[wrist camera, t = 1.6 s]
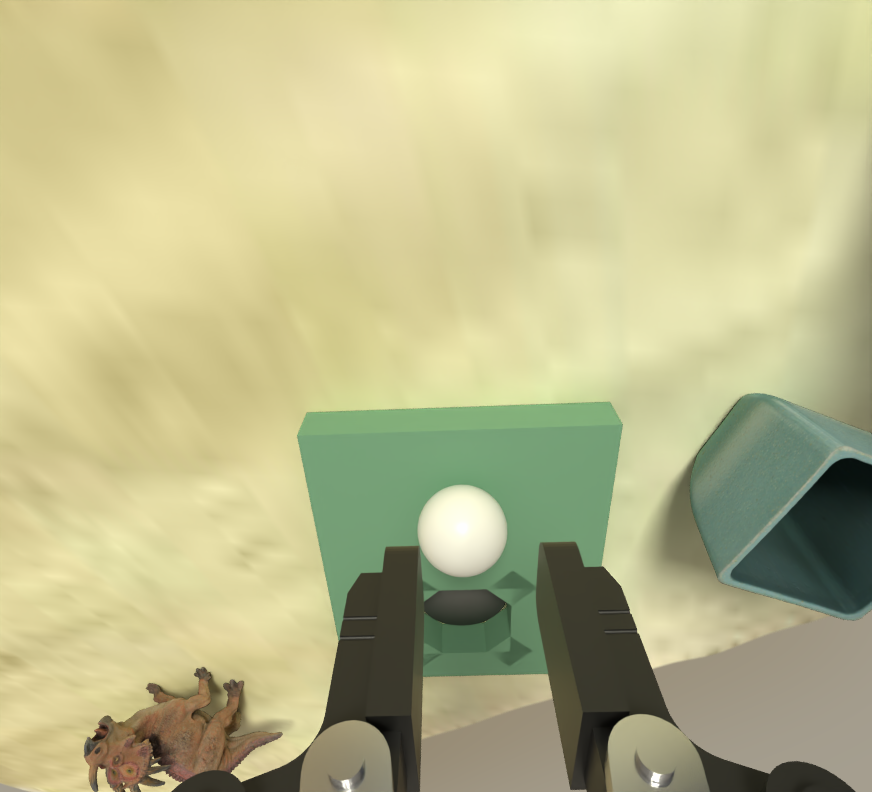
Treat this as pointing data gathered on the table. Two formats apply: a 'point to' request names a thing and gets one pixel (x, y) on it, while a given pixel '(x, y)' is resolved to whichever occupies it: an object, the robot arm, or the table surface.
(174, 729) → the dinosaur figurine
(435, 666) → the putting mat
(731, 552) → the flower pot
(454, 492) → the ball
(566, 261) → the table surface
